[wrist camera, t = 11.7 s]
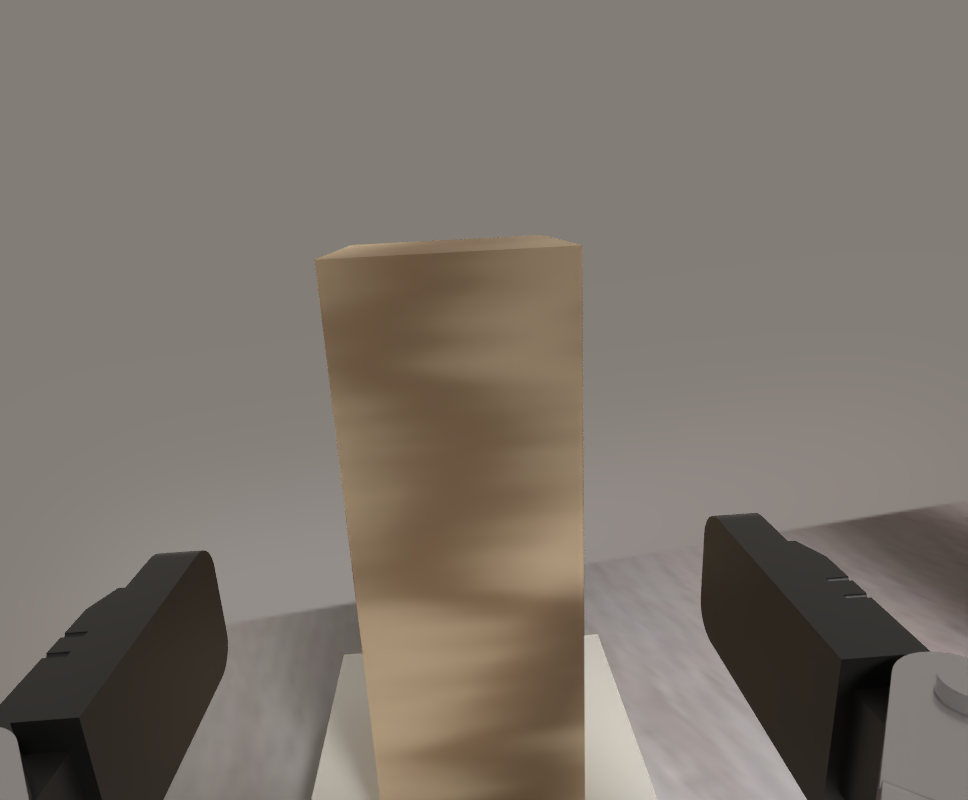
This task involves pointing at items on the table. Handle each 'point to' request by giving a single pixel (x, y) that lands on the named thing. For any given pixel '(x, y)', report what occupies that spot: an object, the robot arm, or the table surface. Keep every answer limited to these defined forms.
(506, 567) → the oak block
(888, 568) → the table surface
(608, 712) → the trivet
